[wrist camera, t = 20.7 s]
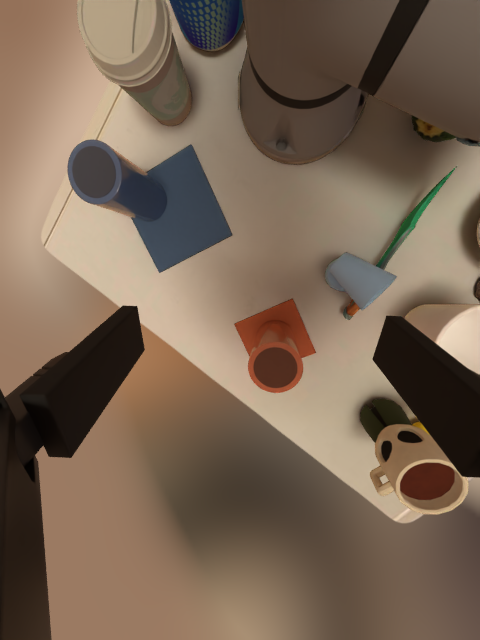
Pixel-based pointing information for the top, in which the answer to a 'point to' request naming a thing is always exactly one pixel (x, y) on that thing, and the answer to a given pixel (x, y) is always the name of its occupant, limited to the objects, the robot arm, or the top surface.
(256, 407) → the top surface
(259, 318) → the terracotta mat
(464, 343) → the cup
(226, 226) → the blue mat
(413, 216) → the knife
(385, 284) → the spotlight
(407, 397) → the robot arm
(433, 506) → the character mug
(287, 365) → the terracotta tumbler
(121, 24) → the coffee cup
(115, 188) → the blue tumbler
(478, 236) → the spoon rest
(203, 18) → the beer can
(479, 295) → the stone
